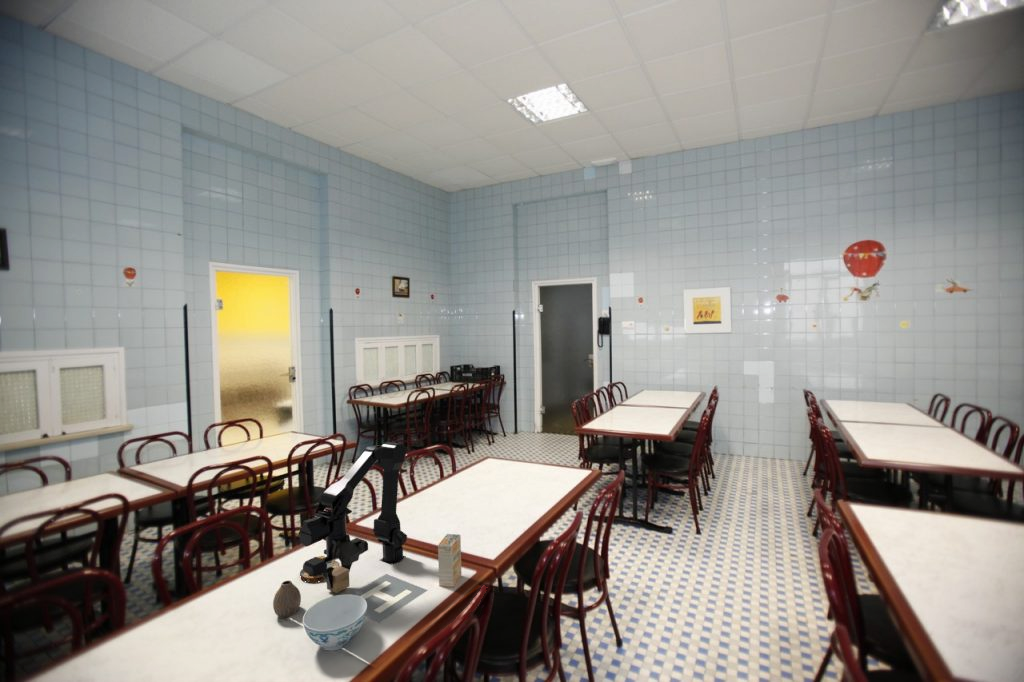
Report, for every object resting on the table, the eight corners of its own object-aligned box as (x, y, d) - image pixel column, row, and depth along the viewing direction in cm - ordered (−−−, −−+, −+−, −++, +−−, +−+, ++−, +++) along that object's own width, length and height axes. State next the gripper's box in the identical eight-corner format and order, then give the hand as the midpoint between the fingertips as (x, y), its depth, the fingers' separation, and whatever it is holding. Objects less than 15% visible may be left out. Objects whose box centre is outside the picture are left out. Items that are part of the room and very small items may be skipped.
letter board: (336, 604, 132) (336, 602, 132) (386, 575, 147) (386, 573, 147) (379, 625, 122) (379, 622, 122) (427, 592, 137) (427, 590, 137)
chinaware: (306, 671, 106) (304, 638, 106) (302, 634, 119) (301, 604, 119) (373, 649, 113) (372, 617, 113) (362, 616, 126) (361, 588, 126)
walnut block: (327, 588, 138) (326, 572, 138) (340, 581, 142) (339, 565, 141) (336, 593, 135) (335, 576, 135) (349, 586, 139) (348, 569, 139)
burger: (340, 562, 158) (339, 540, 157) (339, 579, 146) (338, 556, 146) (302, 568, 154) (301, 546, 154) (297, 587, 143) (296, 563, 143)
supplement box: (454, 589, 138) (452, 546, 138) (438, 588, 139) (437, 545, 139) (462, 575, 146) (461, 534, 146) (447, 574, 147) (446, 533, 147)
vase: (306, 608, 131) (305, 578, 130) (287, 623, 124) (286, 591, 124) (287, 604, 133) (286, 574, 133) (267, 619, 126) (266, 587, 126)
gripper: (324, 551, 126) (326, 608, 126) (379, 526, 141) (381, 577, 142) (300, 542, 132) (303, 596, 132) (355, 519, 147) (357, 567, 148)
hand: (338, 584), depth 138 cm, fingers open, 5 cm apart
